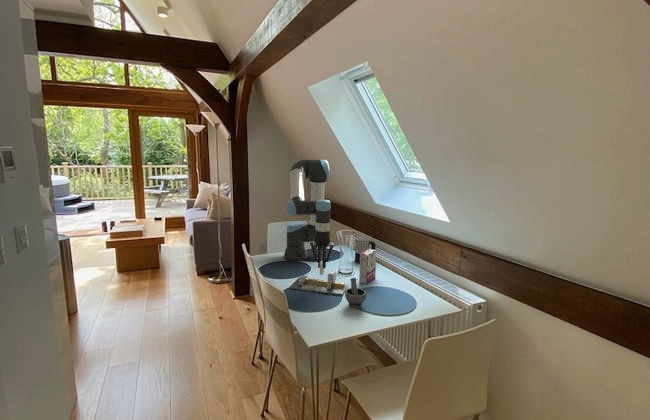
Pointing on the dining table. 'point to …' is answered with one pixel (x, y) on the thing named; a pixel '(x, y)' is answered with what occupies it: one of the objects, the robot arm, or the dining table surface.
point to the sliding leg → (331, 278)
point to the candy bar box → (367, 266)
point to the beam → (318, 282)
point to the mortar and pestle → (355, 295)
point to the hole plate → (318, 288)
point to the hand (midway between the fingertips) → (321, 273)
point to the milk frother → (362, 247)
